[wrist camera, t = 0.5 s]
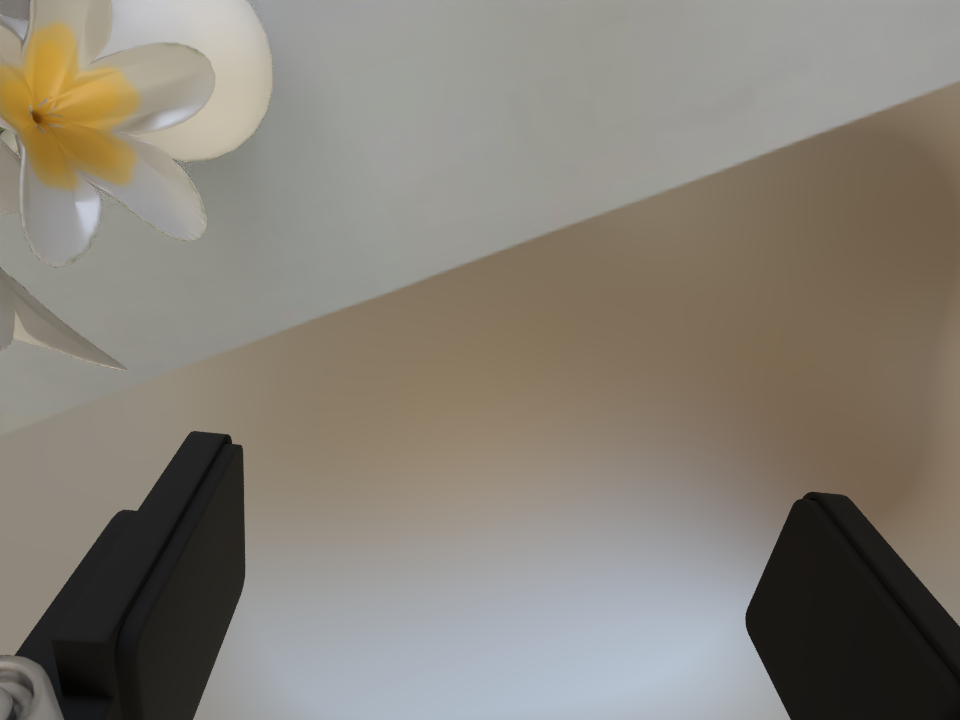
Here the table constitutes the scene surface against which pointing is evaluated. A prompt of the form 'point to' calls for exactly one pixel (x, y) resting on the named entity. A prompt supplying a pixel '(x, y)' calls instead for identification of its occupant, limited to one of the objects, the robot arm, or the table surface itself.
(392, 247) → the table surface
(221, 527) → the robot arm
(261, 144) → the table surface
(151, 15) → the flower vase
